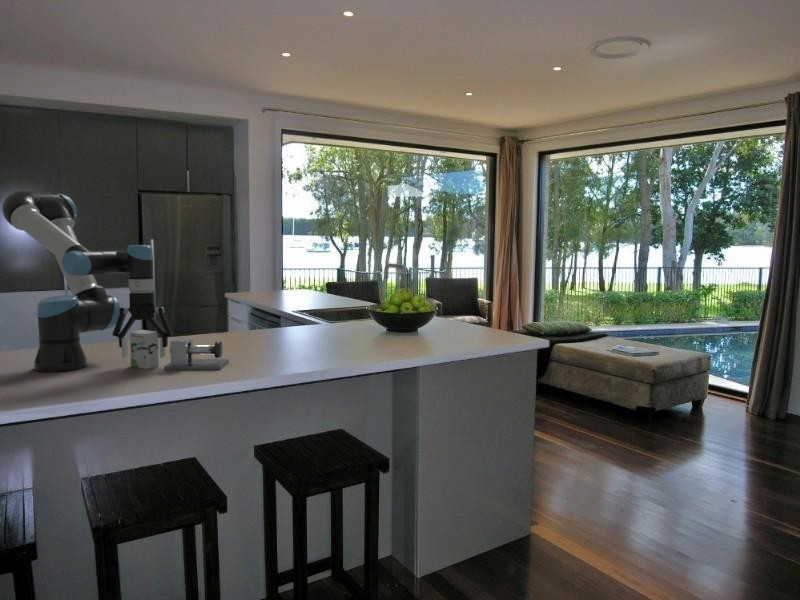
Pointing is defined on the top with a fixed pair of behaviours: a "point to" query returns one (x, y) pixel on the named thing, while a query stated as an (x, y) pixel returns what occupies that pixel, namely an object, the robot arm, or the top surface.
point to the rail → (200, 365)
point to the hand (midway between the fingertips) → (144, 356)
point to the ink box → (144, 349)
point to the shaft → (206, 349)
